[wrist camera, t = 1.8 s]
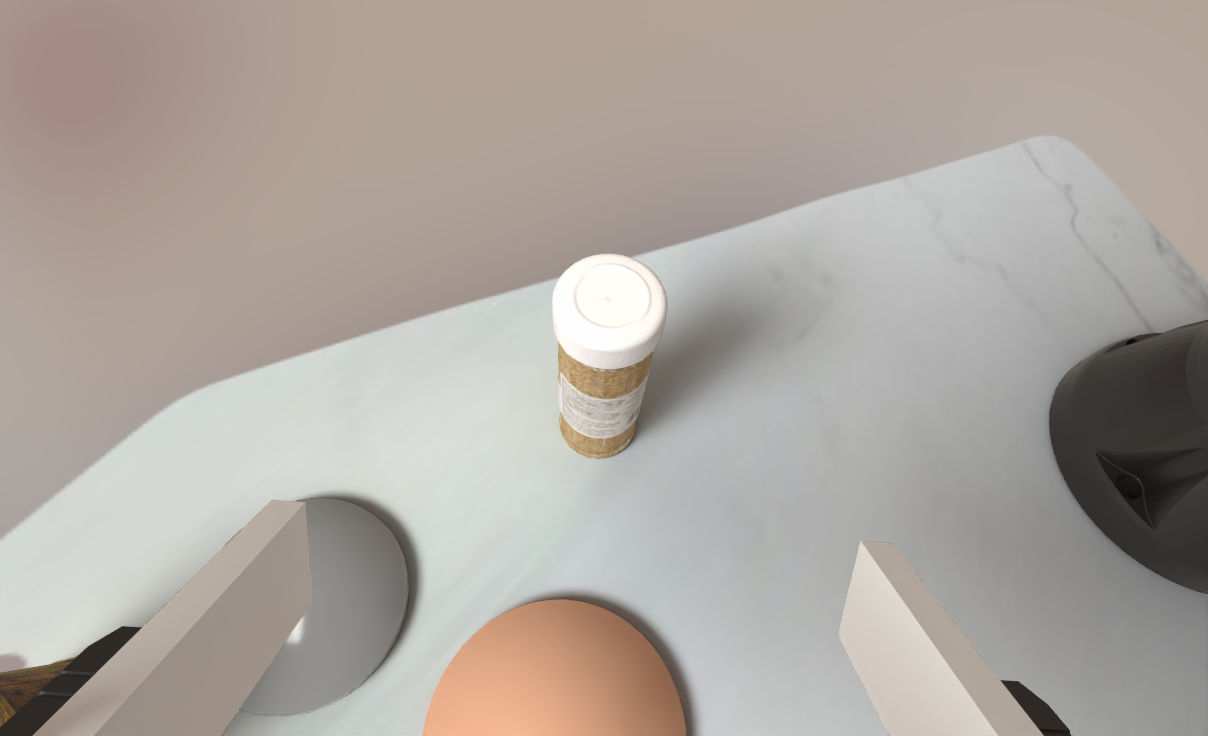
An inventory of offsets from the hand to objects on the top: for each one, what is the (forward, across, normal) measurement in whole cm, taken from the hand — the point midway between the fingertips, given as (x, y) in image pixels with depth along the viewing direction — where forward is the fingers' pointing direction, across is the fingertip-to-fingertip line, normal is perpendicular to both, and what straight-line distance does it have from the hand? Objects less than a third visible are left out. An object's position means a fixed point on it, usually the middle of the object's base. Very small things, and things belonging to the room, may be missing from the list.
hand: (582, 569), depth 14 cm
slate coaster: (+13, -13, -12) cm, 23 cm away
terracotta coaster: (+9, 0, -16) cm, 19 cm away
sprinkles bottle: (+21, +1, -5) cm, 21 cm away
